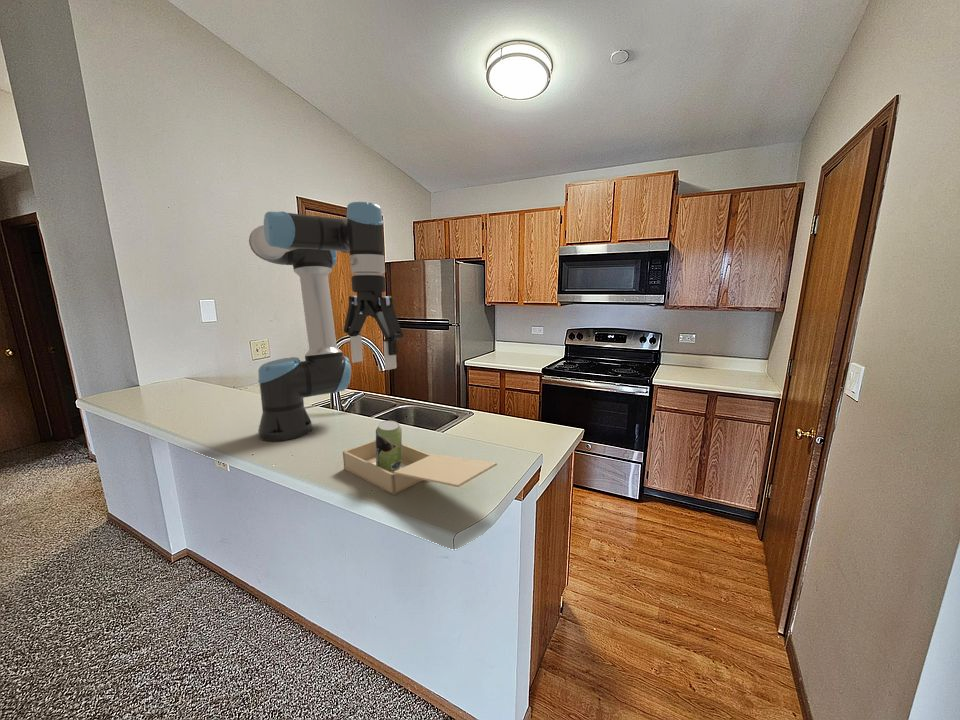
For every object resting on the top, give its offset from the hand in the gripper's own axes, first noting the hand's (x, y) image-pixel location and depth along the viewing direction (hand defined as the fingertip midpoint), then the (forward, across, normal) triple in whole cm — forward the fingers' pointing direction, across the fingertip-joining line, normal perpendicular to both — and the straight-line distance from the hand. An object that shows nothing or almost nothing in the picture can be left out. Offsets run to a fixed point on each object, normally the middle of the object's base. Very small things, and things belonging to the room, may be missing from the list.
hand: (373, 365), depth 91 cm
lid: (+19, +24, 0) cm, 30 cm away
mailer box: (+26, +4, 0) cm, 26 cm away
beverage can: (+26, +5, 0) cm, 26 cm away
